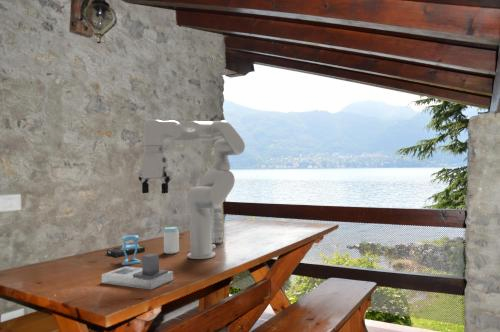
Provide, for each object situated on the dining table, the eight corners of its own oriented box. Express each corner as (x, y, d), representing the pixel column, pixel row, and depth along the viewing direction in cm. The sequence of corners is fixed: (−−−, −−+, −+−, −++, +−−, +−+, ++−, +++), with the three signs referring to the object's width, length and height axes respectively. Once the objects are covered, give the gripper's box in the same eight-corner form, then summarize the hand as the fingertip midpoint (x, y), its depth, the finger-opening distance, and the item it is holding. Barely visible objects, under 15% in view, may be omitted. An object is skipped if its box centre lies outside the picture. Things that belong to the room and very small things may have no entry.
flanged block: (149, 277, 141) (148, 251, 141) (168, 279, 137) (167, 253, 137) (133, 284, 133) (132, 256, 133) (152, 286, 130) (152, 258, 130)
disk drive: (117, 258, 177) (145, 252, 188) (116, 252, 177) (145, 246, 188) (106, 255, 184) (134, 249, 195) (106, 249, 184) (134, 244, 195)
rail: (125, 274, 148) (125, 266, 148) (173, 279, 138) (172, 271, 138) (101, 282, 137) (101, 274, 137) (151, 289, 128) (151, 280, 128)
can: (175, 254, 180) (174, 228, 180) (161, 254, 181) (160, 228, 181) (181, 251, 187) (180, 226, 187) (167, 251, 188) (167, 226, 188)
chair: (139, 259, 173) (138, 232, 173) (141, 263, 165) (140, 234, 165) (121, 261, 170) (120, 233, 170) (122, 265, 162) (121, 236, 162)
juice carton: (224, 240, 211) (223, 196, 211) (222, 243, 203) (221, 198, 203) (207, 240, 212) (206, 197, 212) (204, 243, 204) (203, 198, 204)
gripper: (177, 150, 155) (178, 192, 155) (143, 151, 162) (144, 192, 162) (165, 149, 148) (166, 193, 148) (130, 151, 156) (131, 193, 156)
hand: (155, 193), depth 155 cm, fingers open, 9 cm apart
